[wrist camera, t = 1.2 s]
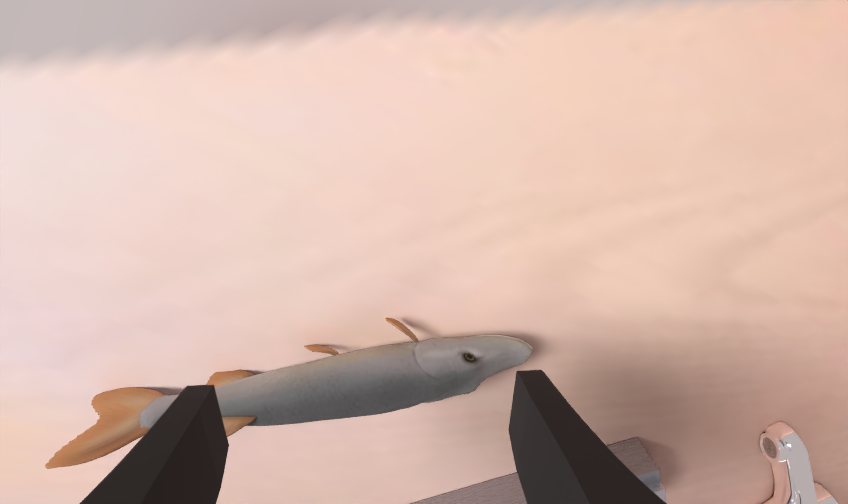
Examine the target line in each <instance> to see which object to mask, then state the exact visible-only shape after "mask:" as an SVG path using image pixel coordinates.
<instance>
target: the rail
mask: <svg viewBox="0 0 848 504" xmlns="http://www.w3.org/2000/svg"><path fill="white" fill-rule="evenodd" d="M607 447H608V448H609V449H610V450H611V451H612V453H613V454H614V455H615V456H616V457H617V458H618V459H619V460H620V461H621V462H622V463H623V464H624V465H625V466H626V467H627V468H628V469H629V470H630V471H631V472H632V473H633V474H635V475H636V476H637V477H638V478H639V479H640V480H641V481H642V482H643V483H644V484H645V485H646V486H647V487H648V488H649V489H651V490H652V491H653V492H654V493H655V494H656V495H657V496H658V497H660V498H661V499H662V500H663V501H664V502H665V501H666V497H665V488H664V487H663V485H662V484H661V482H660V469H659V468H658V466H657V465H656V464H655V462H654V461H653V459H652V458H651V457H650V455H649V454H648V452H647V451H646V450H645V448H644V447H643V445H642V444H641V443H640V441H639V440H638V438H637V437H636V438H633V439H629V440H626V441H623V442H619V443H616V444H612V445H609V446H607ZM411 504H527V502H526V499H525V495H524V492H523V489H522V486H521V483H520V480H519V476H518V473H514V474H510V475H507V476H503V477H500V478H497V479H493V480H490V481H486V482H483V483H480V484H476V485H473V486H469V487H466V488H463V489H459V490H456V491H452V492H449V493H446V494H442V495H439V496H435V497H432V498H428V499H425V500H422V501H418V502H415V503H411Z"/></svg>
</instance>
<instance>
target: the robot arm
mask: <svg viewBox="0 0 848 504" xmlns="http://www.w3.org/2000/svg"><path fill="white" fill-rule="evenodd" d="M509 434H510V439H511V445H512V450H513V455H514V460H515V465H516V470H517V473H518V476H519V480H520V483H521V486H522V489H523V492H524V495H525V499H526V502H527V504H666V503H665V502H664V501H663V500H662V499H661V498H660V497H658V496H657V495H656V494H655V493H654V492H653V491H652V490H651V489H649V488H648V487H647V486H646V485H645V484H644V483H643V482H642V481H641V480H640V479H639V478H638V477H637V476H636V475H635V474H633V473H632V472H631V471H630V470H629V469H628V468H627V467H626V466H625V465H624V464H623V463H622V462H621V461H620V460H619V459H618V458H617V457H616V456H615V455H614V454H613V453H612V451H611V450H610V449H609V448H608V447H607V446H606V445H605V444H604V443H603V442H602V441H601V440H600V439H599V437H598V436H597V435H596V434H595V433H594V432H593V431H592V430H591V429H590V427H589V426H588V425H587V424H586V423H585V422H584V421H583V420H582V418H581V417H580V416H579V415H578V414H577V413H576V411H575V410H574V409H573V408H572V407H571V405H570V404H569V403H568V402H567V401H566V399H565V398H564V397H563V396H562V394H561V393H560V392H559V391H558V389H557V388H556V387H555V386H554V384H553V383H552V382H551V381H550V379H549V378H548V377H547V376H546V374H545V373H544V372H543V371H542V370H530V371H517V373H516V380H515V387H514V395H513V402H512V409H511V417H510V424H509ZM228 447H229V444H228V440H227V436H226V431H225V427H224V423H223V419H222V415H221V411H220V407H219V403H218V399H217V395H216V391H215V387H214V385H197V386H187V387H186V388H185V389H184V390H183V391H182V392H181V393H180V394H179V395H178V396H177V398H176V399H175V400H174V401H173V402H172V404H171V405H170V406H169V407H168V408H167V409H166V411H165V412H164V413H163V414H162V415H161V417H160V418H159V419H158V420H157V421H156V422H155V424H154V425H153V426H152V427H151V428H150V429H149V430H148V432H147V433H146V434H145V435H144V436H143V437H142V438H141V440H140V441H139V442H138V443H137V444H136V445H135V446H134V447H133V448H132V449H131V451H130V452H129V453H128V454H127V455H126V456H125V457H124V458H123V459H122V461H121V462H120V463H119V464H118V465H117V466H116V467H115V468H114V469H113V470H112V471H111V472H110V473H109V474H108V475H107V476H106V477H105V478H104V479H103V480H102V481H101V482H100V483H99V484H98V486H97V487H96V488H95V489H94V490H93V491H92V492H91V493H90V494H89V495H88V496H87V497H86V498H85V499H84V500H83V501H82V502H81V503H80V504H216V501H217V498H218V495H219V491H220V488H221V483H222V478H223V474H224V469H225V463H226V458H227V452H228Z"/></svg>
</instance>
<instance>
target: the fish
mask: <svg viewBox="0 0 848 504" xmlns="http://www.w3.org/2000/svg"><path fill="white" fill-rule="evenodd" d="M386 320H387V321H388V322H389V323H391V324H392V325H394V326H395V327H396V328H398V329H399V330H401V331H402V332H403V333H405V334H406V335H408V336H409V337H410V338H411V339H412V340H413V341H414V342H407V343H399V344H391V345H385V346H379V347H373V348H368V349H363V350H358V351H353V352H348V353H343V354H339V353H338V352H337V351H335V350H333V349H331V348H328V347H325V346H321V345H307V346H304V347H305V348H307V349H309V350H311V351H312V352H322V353H328V354H332V355H335V356H331V357H327V358H324V359H320V360H316V361H312V362H309V363H305V364H300V365H295V366H290V367H285V368H280V369H276V370H273V371H269V372H265V373H261V374H257V375H253V374H252V373H250V372H247V371H244V370H236V371H227V372H216V373H214V374H213V375H212V376H211V377H210V379H209V381H208V383H207V384H206V385H214V387H215V391H216V395H217V399H218V403H219V407H220V411H221V415H222V419H223V423H224V427H225V431H226V436H227V437H228V436H230V435H232V434H233V433H235V432H236V431H238V430H239V429H241V428H243V427H244V426H269V425H284V424H296V423H304V422H312V421H320V420H330V419H341V418H350V417H358V416H367V415H376V414H382V413H387V412H392V411H396V410H400V409H404V408H409V407H412V406H415V405H418V404H420V403H429V402H434V401H439V400H443V399H446V398H449V397H452V396H456V395H461V394H468V393H470V392H473V391H475V390H476V388H477V387H478V386H479V385H480V383H481V382H482V381H483V380H485V379H486V378H488V377H490V376H492V375H494V374H496V373H498V372H501V371H503V370H505V369H508V368H511V367H514V366H517V365H520V364H522V363H524V362H526V361H527V360H528V359H529V357H530V355H531V354H532V350H533V348H532V347H531V345H530V344H528V343H527V342H525V341H523V340H521V339H519V338H514V337H510V336H503V335H477V336H470V337H453V338H434V339H429V340H425V341H418V339H417V338H416V336H415V335H414V334H413V333H412V332H411V331H410V330H409V329H408V328H407V327H406V326H405V325H403V324H402V323H401V322H399V321H398V320H395V319H392V318H386ZM178 395H179V394H178ZM178 395H165V394H163V393H161V392H159V391H155V390H152V389H146V388H120V389H115V390H111V391H106V392H103V393H100V394H98V395H96V396H95V397H94V398H93V400H92V403H91V404H92V405H93V408H94V409H95V412H97V413H98V415H100V419H99V420H97V423H96V424H95V425H93V426H92V427H91V428H89V429H88V430H86V431H85V432H84V433H82V434H80V435H78V436H77V437H76V439H74V440H72V441H70V442H69V443H68V444H67V445H65V446H63V447H62V449H60V450H59V451H58V452H56V453H55V455H54V457H53V458H51V459H50V460H49V463H47V464H46V465H45V467H46V468H47V469H50V468H56V467H66V466H72V465H78V464H82V463H86V462H89V461H92V460H95V459H97V458H100V457H103V456H105V455H107V454H109V453H111V452H114V451H116V450H118V449H120V448H121V447H123V446H125V445H127V444H129V443H131V442H132V441H134V440H136V439H138V438H140V437H142V436H144V435H145V434H146V433H147V432H148V430H149V429H150V428H151V427H152V426H153V425H154V424H155V422H156V421H157V420H158V419H159V418H160V417H161V415H162V414H163V413H164V412H165V411H166V409H167V408H168V407H169V406H170V405H171V404H172V402H173V401H174V400H175V399H176V398H177V396H178Z"/></svg>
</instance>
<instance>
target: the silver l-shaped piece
mask: <svg viewBox="0 0 848 504" xmlns="http://www.w3.org/2000/svg"><path fill="white" fill-rule="evenodd" d="M759 444H760V448H761V451H762V453H763V454H764V456H765V457H766V458H767V459H768V460H769V461H771V466H772V470H773V475H774V495H773V496H772V497H771V498H770V499H768V500H767V501H765V502H764V503H762V504H838V503H837V501H836V500H835V499H834V498H833V497H832V495H831V494H830V493H829V492H828V491H827V490H826V489H824V488H823V487H822V486H821V485H819V484H818V483H815V482H814V481H813V476H812V471H811V465H810V460H809V455H808V451H807V449H806V447H805V445H804V443H803V442H802V440H801V439H800V437H799V436H798V435H797V434H796V433H795V431H794V430H793V429H792V428H791V427H789V426H788V425H787V424H785V423H784V422H781V421H779V422H777V423H775V424H773V425H770V426H769V427H768V428H767V430H766V432H765V433H763V434H761V437H760V442H759Z"/></svg>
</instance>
